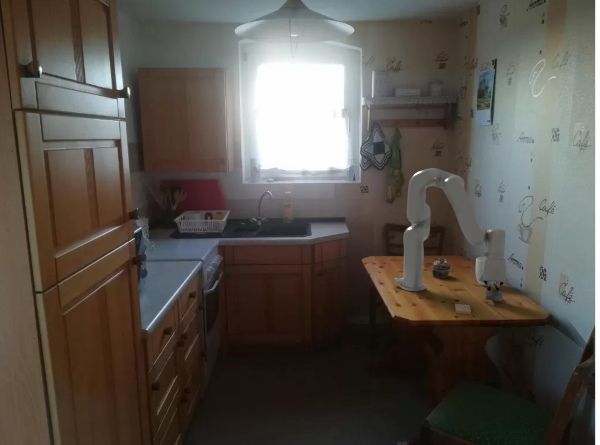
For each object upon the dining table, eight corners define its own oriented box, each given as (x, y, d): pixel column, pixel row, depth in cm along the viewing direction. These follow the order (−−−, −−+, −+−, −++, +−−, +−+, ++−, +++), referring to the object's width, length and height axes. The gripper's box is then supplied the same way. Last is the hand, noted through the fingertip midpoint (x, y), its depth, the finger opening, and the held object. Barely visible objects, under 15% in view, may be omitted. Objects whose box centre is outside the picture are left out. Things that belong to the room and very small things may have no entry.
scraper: (485, 299, 213) (486, 290, 213) (482, 293, 225) (483, 283, 224) (502, 300, 212) (502, 291, 211) (498, 294, 223) (498, 284, 223)
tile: (454, 307, 210) (455, 313, 203) (455, 304, 210) (456, 310, 202) (469, 308, 209) (470, 315, 201) (469, 305, 209) (470, 311, 201)
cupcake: (445, 273, 261) (446, 256, 259) (452, 278, 252) (453, 260, 250) (428, 273, 261) (429, 256, 259) (434, 279, 251) (435, 260, 249)
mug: (494, 291, 231) (496, 265, 229) (471, 287, 237) (472, 262, 234) (498, 283, 244) (500, 258, 242) (476, 279, 249) (478, 255, 247)
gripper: (477, 257, 213) (474, 296, 216) (515, 259, 209) (512, 298, 212) (475, 253, 220) (473, 291, 223) (512, 255, 216) (509, 293, 219)
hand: (492, 294), depth 218 cm, fingers closed on scraper, 2 cm apart
